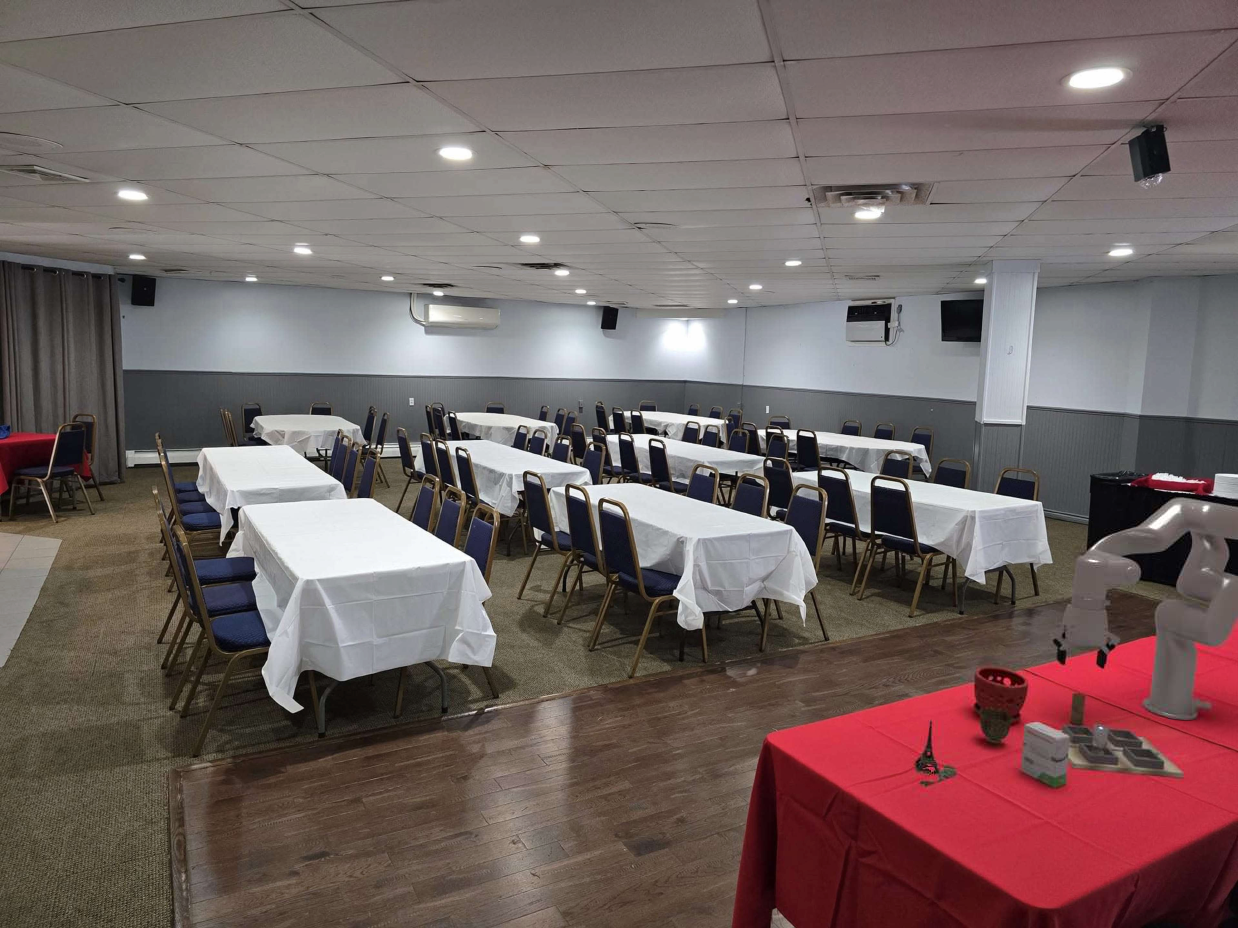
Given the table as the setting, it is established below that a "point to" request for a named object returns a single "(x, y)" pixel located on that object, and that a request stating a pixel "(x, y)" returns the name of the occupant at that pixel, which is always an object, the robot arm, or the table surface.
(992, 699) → the plant pot
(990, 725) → the cup
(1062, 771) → the ink box
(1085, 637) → the robot arm
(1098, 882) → the table surface
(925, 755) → the eiffel tower figurine
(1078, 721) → the walnut pin
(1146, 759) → the board
